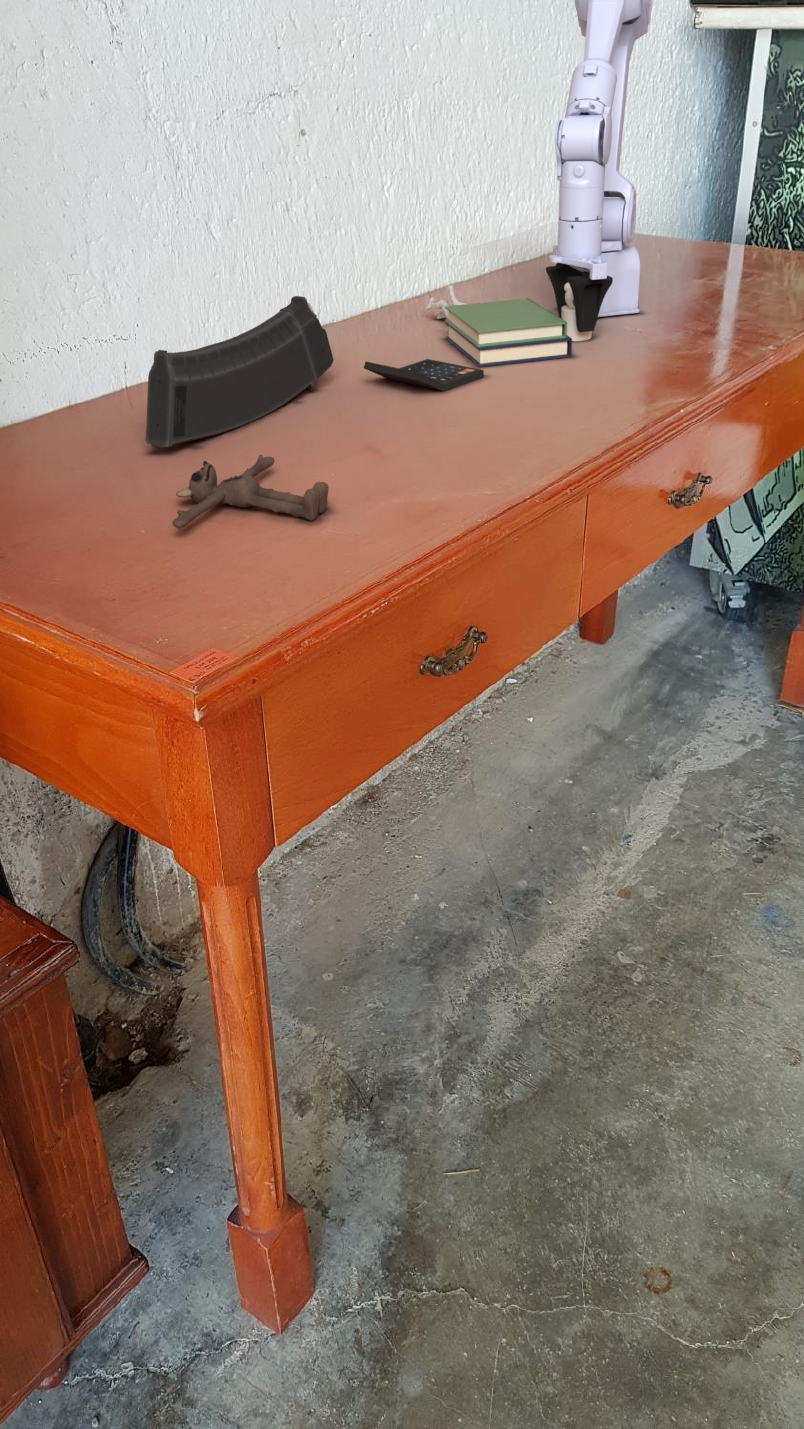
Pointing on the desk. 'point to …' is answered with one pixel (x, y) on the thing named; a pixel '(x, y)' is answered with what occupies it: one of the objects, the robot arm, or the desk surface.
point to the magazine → (235, 377)
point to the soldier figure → (443, 303)
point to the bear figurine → (247, 494)
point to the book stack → (507, 332)
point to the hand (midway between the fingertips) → (576, 325)
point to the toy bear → (572, 317)
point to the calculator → (428, 374)
